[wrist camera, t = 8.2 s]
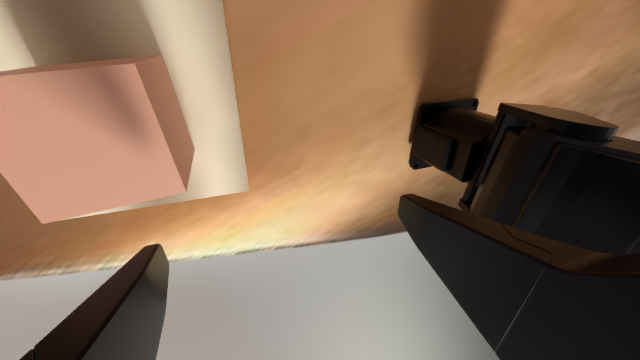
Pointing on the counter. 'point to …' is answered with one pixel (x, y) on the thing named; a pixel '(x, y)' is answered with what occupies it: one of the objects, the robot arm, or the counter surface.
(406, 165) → the counter surface
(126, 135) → the cube
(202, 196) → the birch block
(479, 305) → the robot arm
